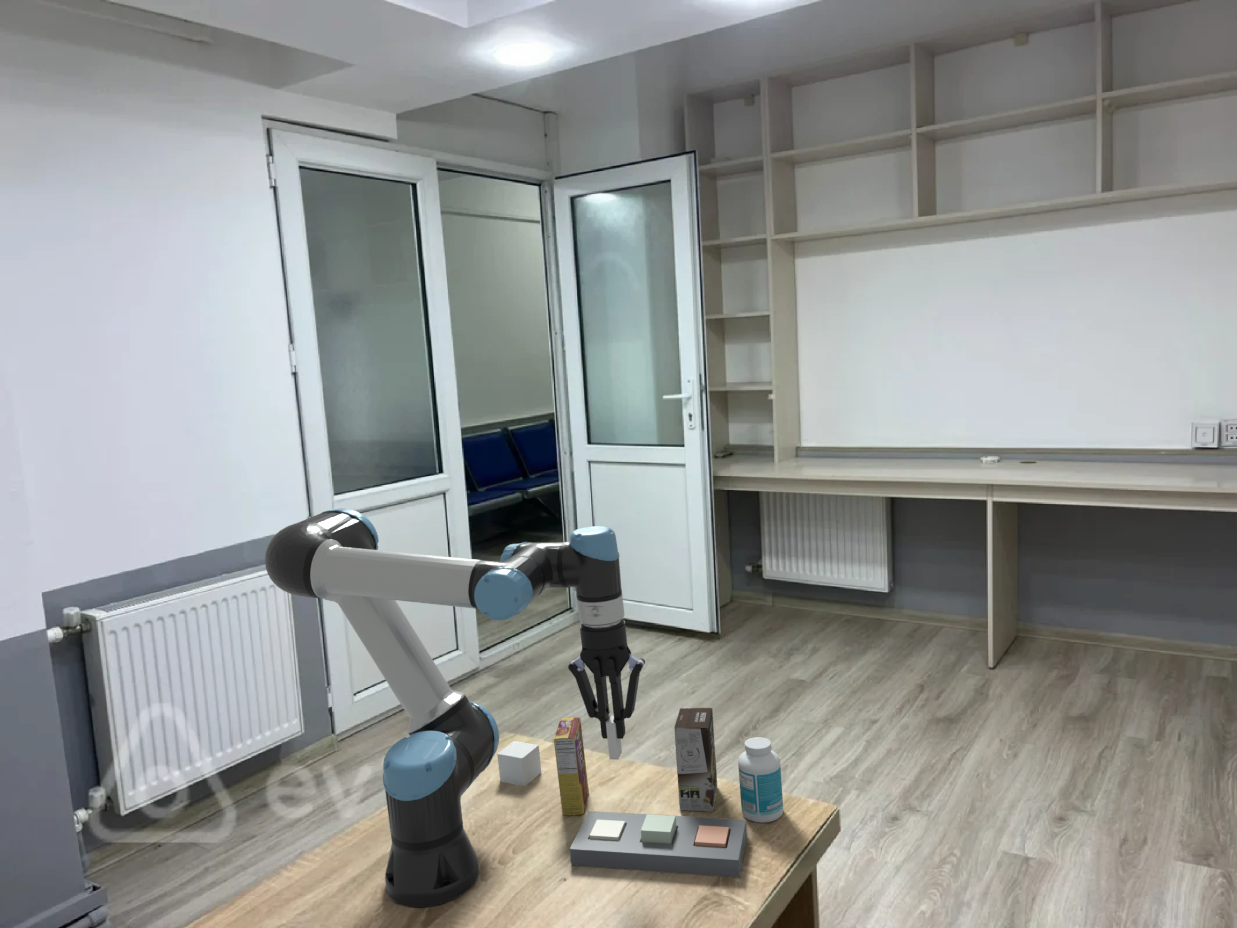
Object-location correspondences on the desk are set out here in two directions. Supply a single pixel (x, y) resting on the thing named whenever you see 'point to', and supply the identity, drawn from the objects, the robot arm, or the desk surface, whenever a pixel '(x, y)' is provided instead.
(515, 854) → the desk surface
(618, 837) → the cream key
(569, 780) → the candy box
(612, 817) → the keypad
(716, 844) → the terracotta key
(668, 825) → the sage key
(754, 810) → the pill bottle
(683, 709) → the coffee box
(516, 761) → the white cube
